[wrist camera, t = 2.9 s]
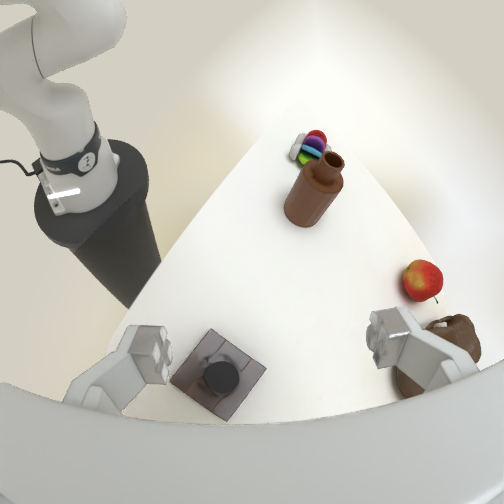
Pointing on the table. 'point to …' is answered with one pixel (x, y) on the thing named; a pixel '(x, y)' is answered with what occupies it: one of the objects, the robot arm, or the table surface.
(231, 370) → the cylinder
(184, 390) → the dark brown square mat
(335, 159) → the bottle
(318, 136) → the rainbow disc toy
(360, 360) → the table surface
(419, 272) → the apple
